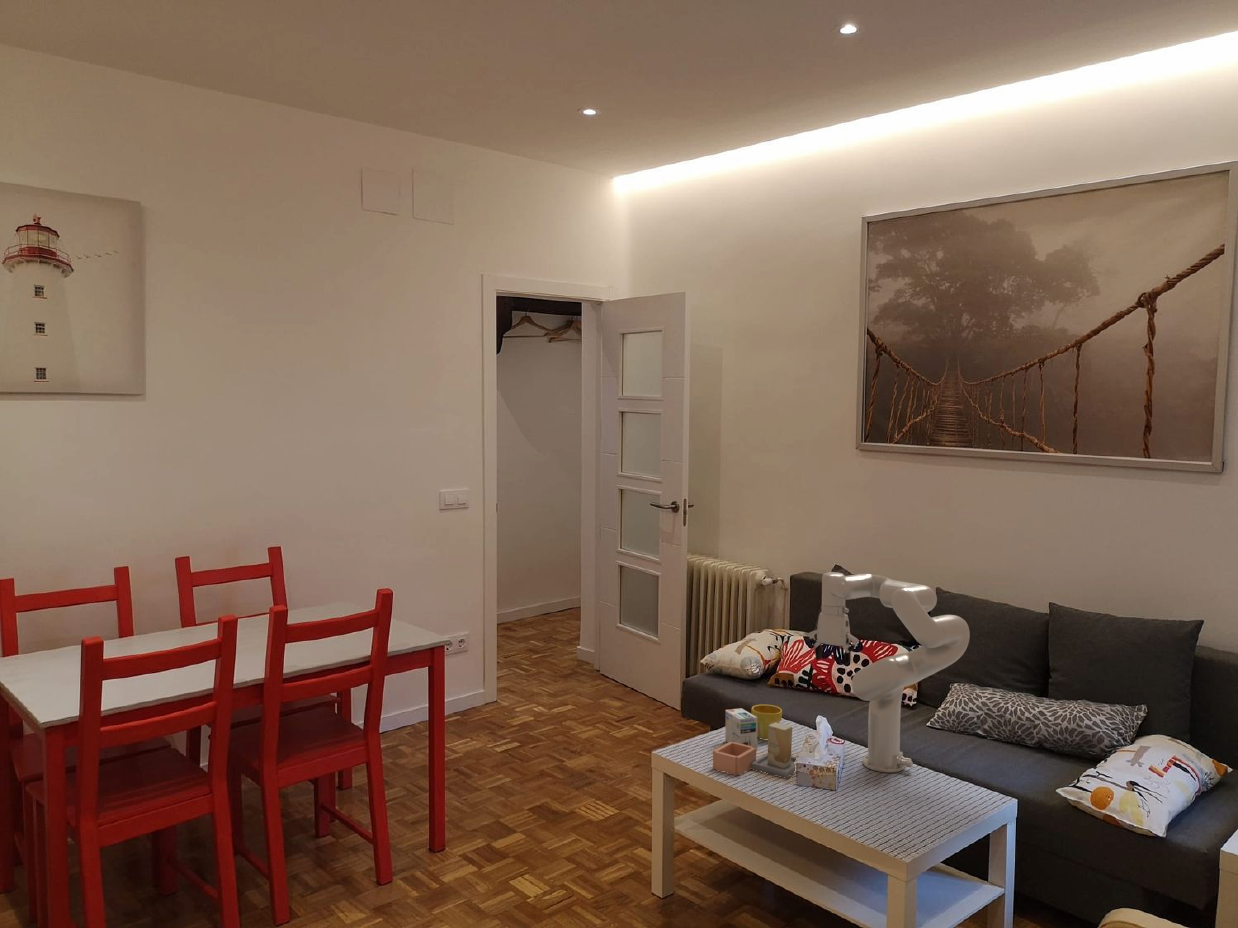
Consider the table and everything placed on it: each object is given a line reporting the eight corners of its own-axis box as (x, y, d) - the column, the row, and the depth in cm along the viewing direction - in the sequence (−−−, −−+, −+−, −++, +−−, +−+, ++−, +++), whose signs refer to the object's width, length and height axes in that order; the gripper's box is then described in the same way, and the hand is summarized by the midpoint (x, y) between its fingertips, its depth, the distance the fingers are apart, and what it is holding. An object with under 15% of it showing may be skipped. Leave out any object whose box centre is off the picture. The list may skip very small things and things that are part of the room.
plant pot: (786, 735, 302) (786, 707, 302) (774, 744, 293) (775, 715, 293) (758, 729, 307) (758, 702, 307) (746, 738, 299) (746, 710, 298)
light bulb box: (758, 749, 289) (758, 716, 288) (740, 751, 286) (740, 719, 286) (741, 738, 299) (742, 707, 298) (724, 741, 296) (724, 709, 296)
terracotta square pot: (756, 764, 275) (757, 747, 275) (738, 776, 266) (738, 758, 266) (730, 757, 281) (730, 740, 281) (711, 768, 272) (712, 751, 272)
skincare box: (766, 763, 274) (767, 724, 273) (774, 759, 277) (774, 721, 276) (784, 769, 269) (785, 729, 269) (792, 765, 273) (792, 726, 272)
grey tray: (805, 765, 275) (805, 759, 275) (786, 778, 264) (786, 772, 264) (771, 756, 282) (771, 750, 282) (751, 769, 272) (751, 762, 272)
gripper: (863, 611, 288) (862, 663, 289) (814, 604, 299) (813, 654, 299) (853, 615, 282) (853, 668, 283) (804, 608, 293) (803, 659, 293)
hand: (832, 661), depth 291 cm, fingers open, 9 cm apart
